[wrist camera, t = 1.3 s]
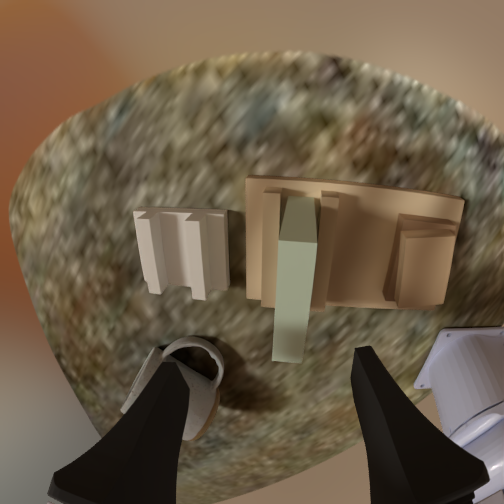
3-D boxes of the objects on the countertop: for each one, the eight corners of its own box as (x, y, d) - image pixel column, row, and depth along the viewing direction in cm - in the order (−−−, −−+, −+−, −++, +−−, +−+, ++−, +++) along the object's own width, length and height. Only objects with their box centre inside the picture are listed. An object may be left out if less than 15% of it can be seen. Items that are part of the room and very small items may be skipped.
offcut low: (449, 219, 17) (456, 225, 16) (428, 294, 20) (433, 303, 19) (398, 213, 18) (403, 219, 16) (382, 291, 20) (385, 301, 19)
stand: (227, 209, 21) (217, 222, 18) (229, 283, 23) (221, 302, 21) (139, 206, 22) (122, 218, 19) (150, 275, 24) (136, 290, 22)
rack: (458, 196, 17) (474, 207, 15) (430, 303, 21) (439, 321, 19) (248, 175, 19) (240, 183, 17) (249, 291, 23) (242, 310, 21)
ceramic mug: (202, 403, 32) (183, 456, 25) (141, 368, 31) (112, 418, 24) (248, 357, 27) (231, 424, 20) (172, 313, 26) (135, 373, 19)
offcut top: (448, 229, 16) (455, 236, 15) (437, 294, 18) (443, 303, 17) (400, 230, 17) (406, 238, 16) (394, 298, 19) (398, 308, 18)
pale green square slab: (313, 197, 18) (317, 243, 12) (305, 292, 21) (301, 363, 15) (288, 195, 18) (278, 240, 12) (283, 290, 22) (271, 360, 15)
